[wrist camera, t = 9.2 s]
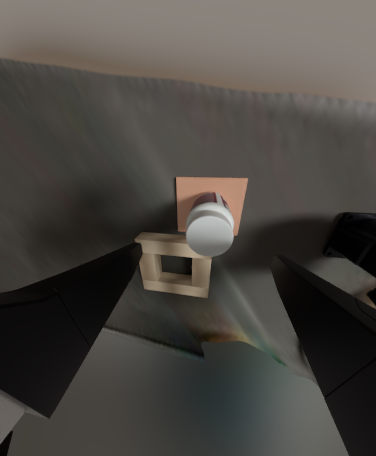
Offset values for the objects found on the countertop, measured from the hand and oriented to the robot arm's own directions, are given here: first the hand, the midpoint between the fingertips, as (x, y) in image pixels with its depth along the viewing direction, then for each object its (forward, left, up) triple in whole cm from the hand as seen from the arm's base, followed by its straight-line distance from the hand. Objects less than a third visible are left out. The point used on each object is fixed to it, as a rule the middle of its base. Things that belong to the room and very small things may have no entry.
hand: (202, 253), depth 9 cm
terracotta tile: (0, 0, -11) cm, 11 cm away
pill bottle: (0, 0, -11) cm, 11 cm away
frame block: (+5, +11, -11) cm, 16 cm away
